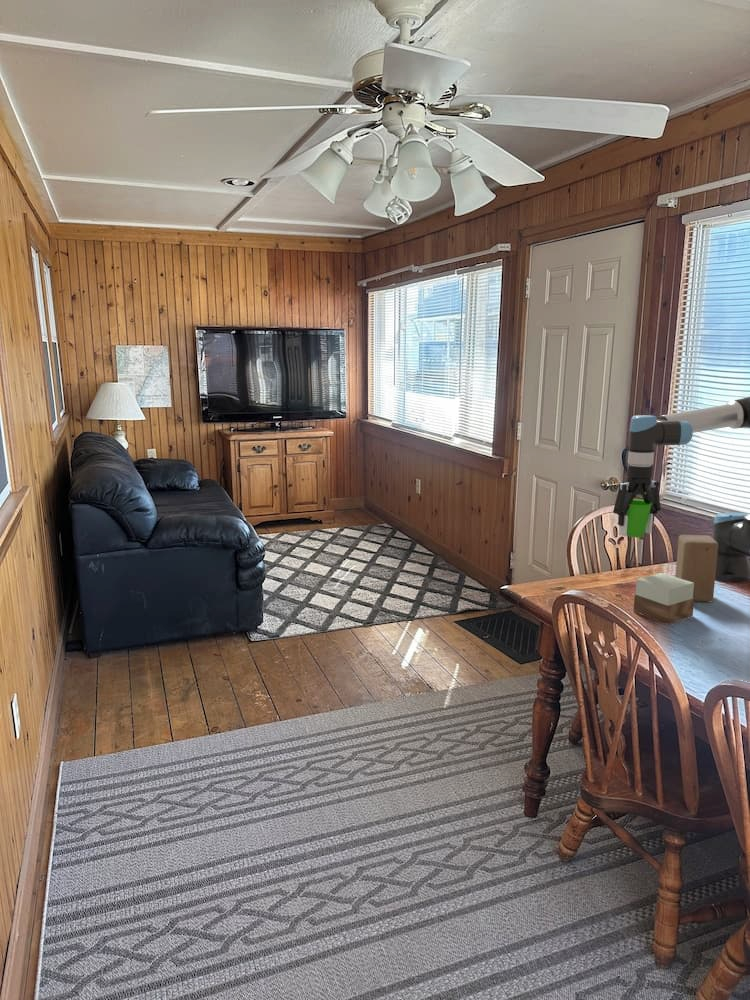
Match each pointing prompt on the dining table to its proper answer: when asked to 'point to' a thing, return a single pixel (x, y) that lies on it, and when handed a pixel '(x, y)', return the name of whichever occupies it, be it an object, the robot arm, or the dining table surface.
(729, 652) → the dining table surface
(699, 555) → the wooden block
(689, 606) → the tower base
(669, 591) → the tower top
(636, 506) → the cup
